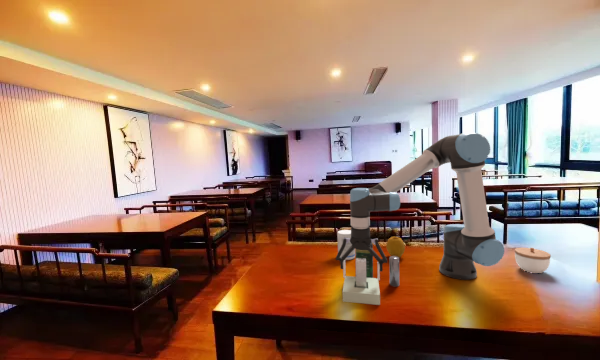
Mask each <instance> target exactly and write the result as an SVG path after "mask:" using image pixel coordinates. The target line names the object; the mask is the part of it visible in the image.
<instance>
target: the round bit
mask: <svg viewBox="0 0 600 360" xmlns="http://www.w3.org/2000/svg"><path fill="white" fill-rule="evenodd" d="M388 259H389V262H388V263H389V285H390V286H391V287H400V258H399V257H396V256H391V255H390V256H389V258H388Z"/></svg>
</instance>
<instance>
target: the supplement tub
mask: <svg viewBox="0 0 600 360" xmlns="http://www.w3.org/2000/svg"><path fill="white" fill-rule="evenodd" d="M336 235H337V237H336V238H337V253H338V252H339V250H340V248H341V246H342V244H343V239H344V237H346V238H351V229H341V230H338V231H337V233H336ZM351 245H352V244H351V242H348V243H347V244H346V245H345V248H344V250H343V252H342V254H341V256H340V257H342V256H343V255H344V254H345V252H346V251H347V250H348V249H349V248H350V247H351ZM354 259H356V256H355V249H354V250H353V251H352V252H351V253H350V254H349V255H348V256H347V257H346V259H345V261H349V260H354Z"/></svg>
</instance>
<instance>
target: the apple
mask: <svg viewBox="0 0 600 360" xmlns="http://www.w3.org/2000/svg"><path fill="white" fill-rule="evenodd" d="M386 250H387V253H388V254H389V255H390V256H396V257H399V259H400V258H401V257H402V255H403V254H404V253H405V250H406V247H405V243H404V240H402V238H401V237H398V236H391V237H390V238H388V239H387V242H386Z"/></svg>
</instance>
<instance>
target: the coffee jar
mask: <svg viewBox="0 0 600 360" xmlns="http://www.w3.org/2000/svg"><path fill="white" fill-rule="evenodd" d="M370 246H371V248H372V249H373V250H374V248H373V247H374V244H373V243H372V242H371V244H370ZM356 258H362V259H366V278H374V256H373V255H372V254H371V253H370V252H369V251H368V250H367V249H365V250H361V249H360V250H357V249H355V259H356Z"/></svg>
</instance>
